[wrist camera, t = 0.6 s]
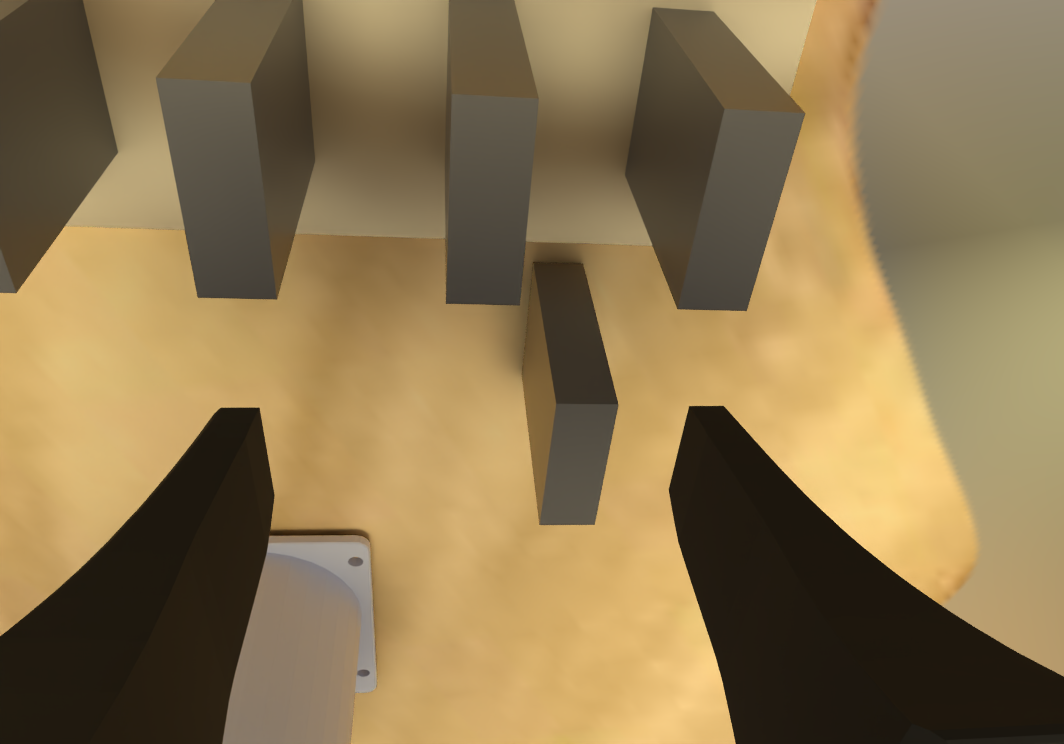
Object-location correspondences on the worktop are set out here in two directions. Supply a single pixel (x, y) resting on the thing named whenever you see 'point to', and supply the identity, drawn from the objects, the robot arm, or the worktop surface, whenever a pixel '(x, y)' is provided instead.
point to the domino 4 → (566, 395)
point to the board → (419, 110)
